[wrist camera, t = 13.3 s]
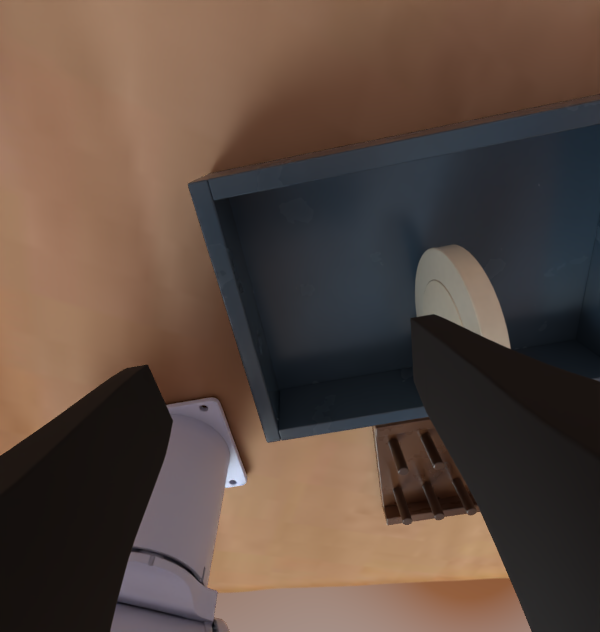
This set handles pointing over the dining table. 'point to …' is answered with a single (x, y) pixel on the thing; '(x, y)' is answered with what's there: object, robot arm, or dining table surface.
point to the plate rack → (418, 474)
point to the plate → (459, 292)
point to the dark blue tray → (403, 257)
